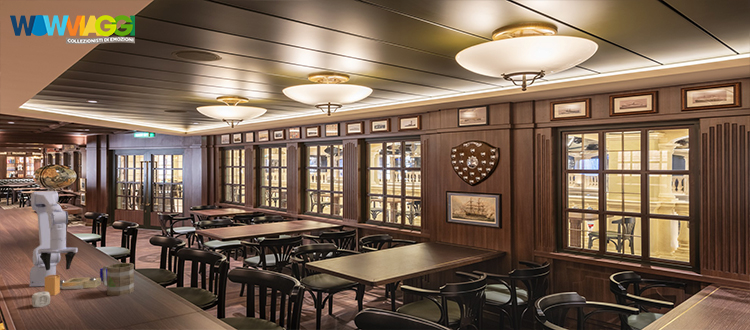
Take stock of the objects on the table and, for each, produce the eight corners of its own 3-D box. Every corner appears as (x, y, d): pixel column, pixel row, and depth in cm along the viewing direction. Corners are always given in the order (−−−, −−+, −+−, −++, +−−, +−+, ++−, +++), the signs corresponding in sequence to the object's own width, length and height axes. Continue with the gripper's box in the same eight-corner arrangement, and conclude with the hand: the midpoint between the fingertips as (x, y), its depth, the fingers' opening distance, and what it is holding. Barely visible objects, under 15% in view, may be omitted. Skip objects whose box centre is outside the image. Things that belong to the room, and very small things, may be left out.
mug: (139, 290, 200) (139, 263, 199) (118, 297, 189) (119, 269, 189) (113, 286, 205) (114, 261, 205) (92, 293, 194) (92, 266, 194)
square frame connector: (50, 289, 199) (50, 281, 199) (60, 284, 207) (60, 277, 207) (94, 288, 202) (94, 280, 202) (102, 283, 210) (102, 275, 210)
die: (46, 302, 181) (46, 290, 181) (50, 305, 178) (50, 293, 178) (31, 305, 177) (31, 293, 177) (35, 308, 174) (35, 295, 174)
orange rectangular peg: (44, 295, 190) (44, 277, 190) (49, 292, 194) (49, 274, 194) (54, 295, 191) (54, 276, 191) (59, 292, 195) (59, 274, 195)
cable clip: (115, 274, 227) (116, 263, 227) (123, 275, 226) (123, 263, 226) (97, 280, 215) (97, 268, 215) (105, 281, 214) (105, 269, 214)
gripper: (34, 241, 189) (34, 272, 189) (73, 239, 192) (73, 270, 192) (42, 238, 195) (42, 268, 195) (79, 237, 199) (79, 266, 199)
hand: (58, 269), depth 194 cm, fingers open, 7 cm apart
